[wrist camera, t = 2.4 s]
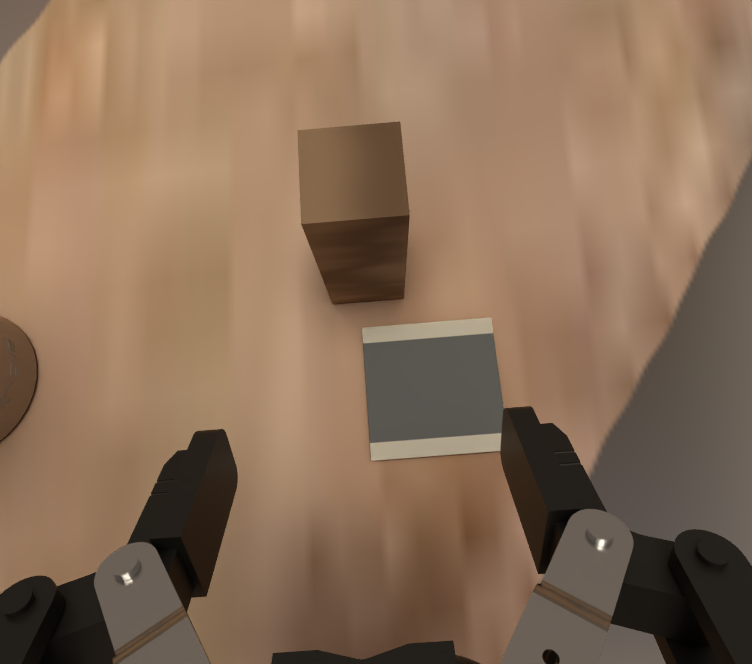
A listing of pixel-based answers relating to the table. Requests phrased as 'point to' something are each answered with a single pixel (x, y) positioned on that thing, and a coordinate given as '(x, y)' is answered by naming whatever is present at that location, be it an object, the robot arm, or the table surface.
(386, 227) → the block
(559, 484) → the robot arm
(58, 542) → the table surface
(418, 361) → the mat
